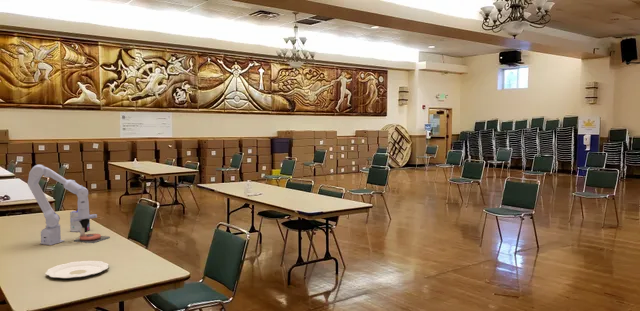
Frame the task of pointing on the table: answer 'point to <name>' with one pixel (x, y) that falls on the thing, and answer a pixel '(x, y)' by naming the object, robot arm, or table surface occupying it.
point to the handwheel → (88, 235)
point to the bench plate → (93, 240)
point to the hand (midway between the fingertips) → (84, 232)
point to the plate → (65, 269)
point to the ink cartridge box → (76, 223)
